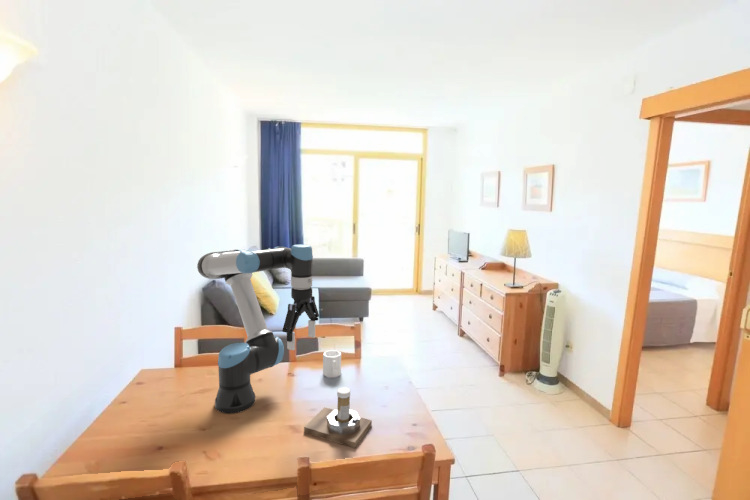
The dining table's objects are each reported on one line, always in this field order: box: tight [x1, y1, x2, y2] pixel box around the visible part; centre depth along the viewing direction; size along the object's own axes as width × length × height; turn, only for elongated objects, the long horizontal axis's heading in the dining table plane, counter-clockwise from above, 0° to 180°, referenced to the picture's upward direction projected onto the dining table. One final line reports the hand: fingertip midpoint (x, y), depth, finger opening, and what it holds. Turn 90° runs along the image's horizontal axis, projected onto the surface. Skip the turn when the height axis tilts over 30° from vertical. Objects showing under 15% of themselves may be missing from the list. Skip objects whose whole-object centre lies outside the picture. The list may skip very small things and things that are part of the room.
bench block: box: [303, 407, 373, 449], centre depth 139 cm, size 20×14×2 cm
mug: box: [322, 349, 342, 379], centre depth 178 cm, size 12×9×10 cm
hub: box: [327, 409, 361, 435], centre depth 137 cm, size 11×11×4 cm
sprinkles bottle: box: [336, 386, 351, 423], centre depth 137 cm, size 5×5×13 cm
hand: (301, 342), depth 143 cm, fingers open, 13 cm apart
